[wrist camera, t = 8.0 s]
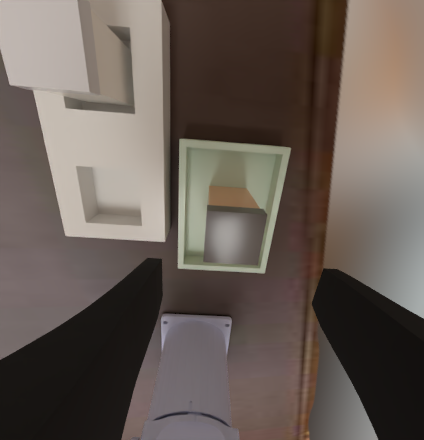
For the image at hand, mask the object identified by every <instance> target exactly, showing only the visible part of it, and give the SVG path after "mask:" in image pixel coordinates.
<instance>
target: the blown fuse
mask: <svg viewBox="0 0 424 440" xmlns="http://www.w3.org/2000/svg"><path fill="white" fill-rule="evenodd" d="M266 220H267V213H266V212H265V210H264V209H260V207H259V206H258V204H257V203H256V201H255V200H254V198H253V197H252V195H251V194H250V192H249V191H248V190H247V188H235V187H222V186H209V193H208V205H207V214H206V228H205V242H204V257H203V262H207V263H224V264H240V265H257V266H258V262H259V256H260V251H261V246H262V241H263V236H264V231H265V226H266Z"/></svg>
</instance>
